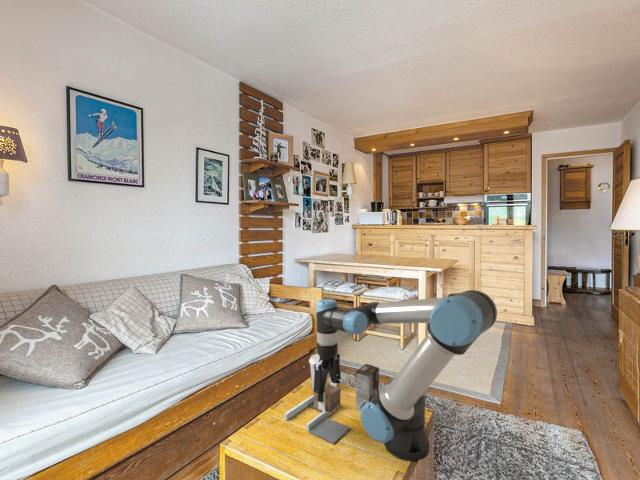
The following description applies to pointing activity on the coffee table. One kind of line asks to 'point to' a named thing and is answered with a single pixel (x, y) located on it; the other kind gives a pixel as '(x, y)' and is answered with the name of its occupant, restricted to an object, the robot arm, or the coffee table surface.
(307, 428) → the channel
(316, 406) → the walnut block
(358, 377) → the coffee box
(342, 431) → the slate coaster
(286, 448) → the coffee table surface
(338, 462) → the coffee table surface
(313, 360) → the coffee cup
